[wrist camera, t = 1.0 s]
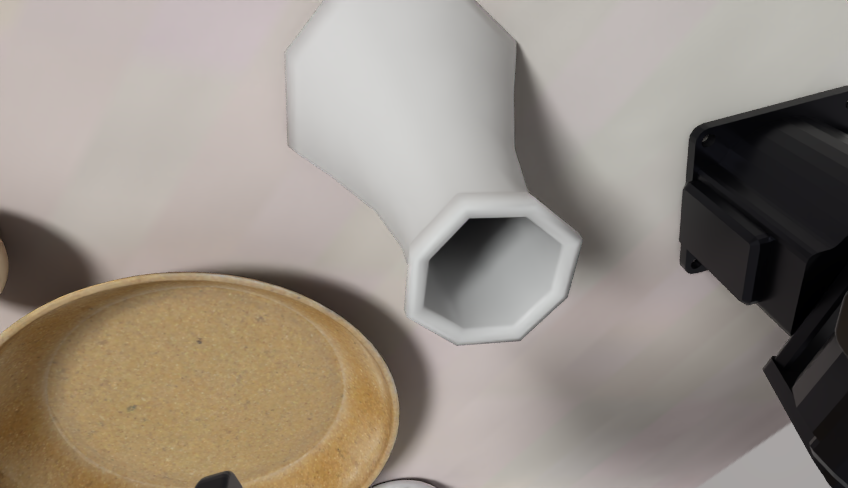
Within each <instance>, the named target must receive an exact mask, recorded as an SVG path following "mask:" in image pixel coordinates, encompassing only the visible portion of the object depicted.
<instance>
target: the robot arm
mask: <svg viewBox="0 0 848 488" xmlns="http://www.w3.org/2000/svg"><path fill="white" fill-rule="evenodd" d="M847 100H848V86H843V87H839V88H836V89H832V90H828V91H824V92H821V93H817V94H813V95H809V96H805V97H802V98H798V99H794V100H790V101H786V102H783V103H779V104H775V105H771V106H767V107H764V108H760V109H756V110H752V111H749V112H745V113H741V114H737V115H733V116H730V117H726V118H722V119H718V120H714V121H711V122H707V123H703V124H701V125H699V126H697V127H696V128H695V129H694V130H693V131H692V133H691V134H690V138H689V147H688V160H687V173H686V184H685V187H684V189H683V196H682V210H681V223H680V236H679V241H680V243H681V251H680V265H681V266H682V267H683V268H684V269H685V270H686V271H687V272H688V273H690V274H694V273H699V272H702V271H706V270H709V271H710V272H711V273H712V274H713V275H714V276H715V277H716V278H717V279H718V280H719V281H720V282H721V283H722V284H723V285H724V286H725V287H726V288H727V289H728V290H729V291H730V292H731V293H732V294H733V295H734V296H735V297H736V298H737V299H738V300H739V301H741V302H742V303H744V304H746V305H751V304H755V303H756V304H757V305H758V306H759V307H760V308H761V309H762V310H763V311H764V312H765V313H766V314H767V315H768V316H769V317H770V318H772V319H773V320H774V321H775V322H776V323H777V324H778V325H779V326H780V327H781V328H782V329H783V330H784V331H785V332H786V333H787V334H788V335H789V336H790V339H789V340H788V341H787V342H786V344H785V345H784V346H783V348H782V349H781V350H780V352H779V353H778V354H777V356H772V357H771V359H770V360H769V361H768V363H767V364H766V365H765V367H764V368H763V371H764V373H765V375H766V377H767V378H768V380H769V382H770V384H771V386H772V387H773V389H774V391H775V393H776V395H777V396H778V398H779V400H780V402H781V404H782V405H783V407H784V409H785V411H786V413H787V414H788V416H789V418H790V420H791V422H792V423H793V425H794V427H795V429H796V431H797V432H798V434H799V436H800V438H801V440H802V441H803V443H804V445H805V447H806V449H807V450H808V452H809V454H810V456H811V458H812V459H813V461H814V463H815V464H816V466H817V467H818V469H819V470H820V471H821V473H822V474H823V475H824V477H825V479H826V481H827V482H828V483H829V485H830V486H831V487H832V488H848V102H847ZM846 102H847V103H846ZM708 134H709V136H708V138H707V139H706V140H705V141H704V142H702V140H703V138H704V137H705V136H706V135H708ZM695 259H696V260H695ZM694 260H695V261H694ZM693 261H694V262H693ZM195 488H243V487H242V485H241V483H240V482H239V480H238V479H237V477H236V475H235V474H234V473H233V472H231V471H223V472H219V473H216V474H212V475H209V476H206V477H204V478H202V479H201V480H200V481H199V482H198V483H197V484H196V486H195Z"/></svg>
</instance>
